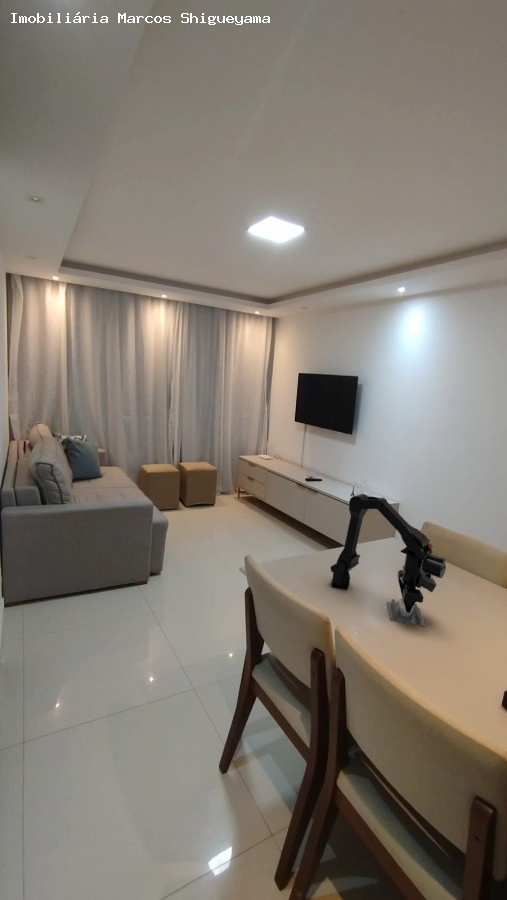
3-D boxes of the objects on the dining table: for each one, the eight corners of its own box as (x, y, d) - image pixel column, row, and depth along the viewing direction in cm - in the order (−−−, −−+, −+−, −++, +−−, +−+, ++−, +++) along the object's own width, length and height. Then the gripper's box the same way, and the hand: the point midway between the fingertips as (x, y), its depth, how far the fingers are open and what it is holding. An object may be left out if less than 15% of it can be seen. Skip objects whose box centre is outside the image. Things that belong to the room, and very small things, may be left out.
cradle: (389, 620, 145) (390, 614, 145) (386, 603, 157) (387, 597, 157) (425, 627, 143) (426, 620, 143) (419, 609, 155) (420, 603, 154)
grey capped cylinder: (399, 615, 148) (401, 601, 147) (397, 608, 153) (399, 594, 152) (413, 618, 147) (415, 604, 146) (411, 610, 152) (413, 597, 151)
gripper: (442, 583, 136) (434, 625, 139) (430, 560, 154) (424, 598, 157) (407, 577, 138) (401, 619, 141) (400, 555, 157) (394, 592, 159)
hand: (406, 606), depth 150 cm, fingers open, 7 cm apart
